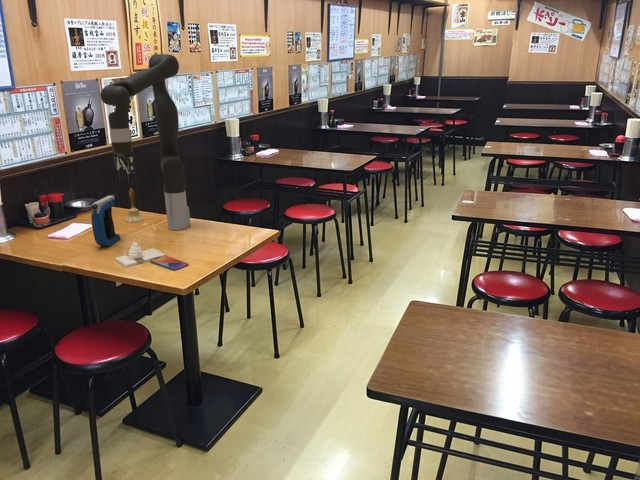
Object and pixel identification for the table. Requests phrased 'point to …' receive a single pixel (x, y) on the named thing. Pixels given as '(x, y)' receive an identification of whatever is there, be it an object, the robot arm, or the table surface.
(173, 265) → the smartphone
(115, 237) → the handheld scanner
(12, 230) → the table surface
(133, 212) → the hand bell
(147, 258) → the white panel
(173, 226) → the robot arm
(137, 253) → the garlic bulb
